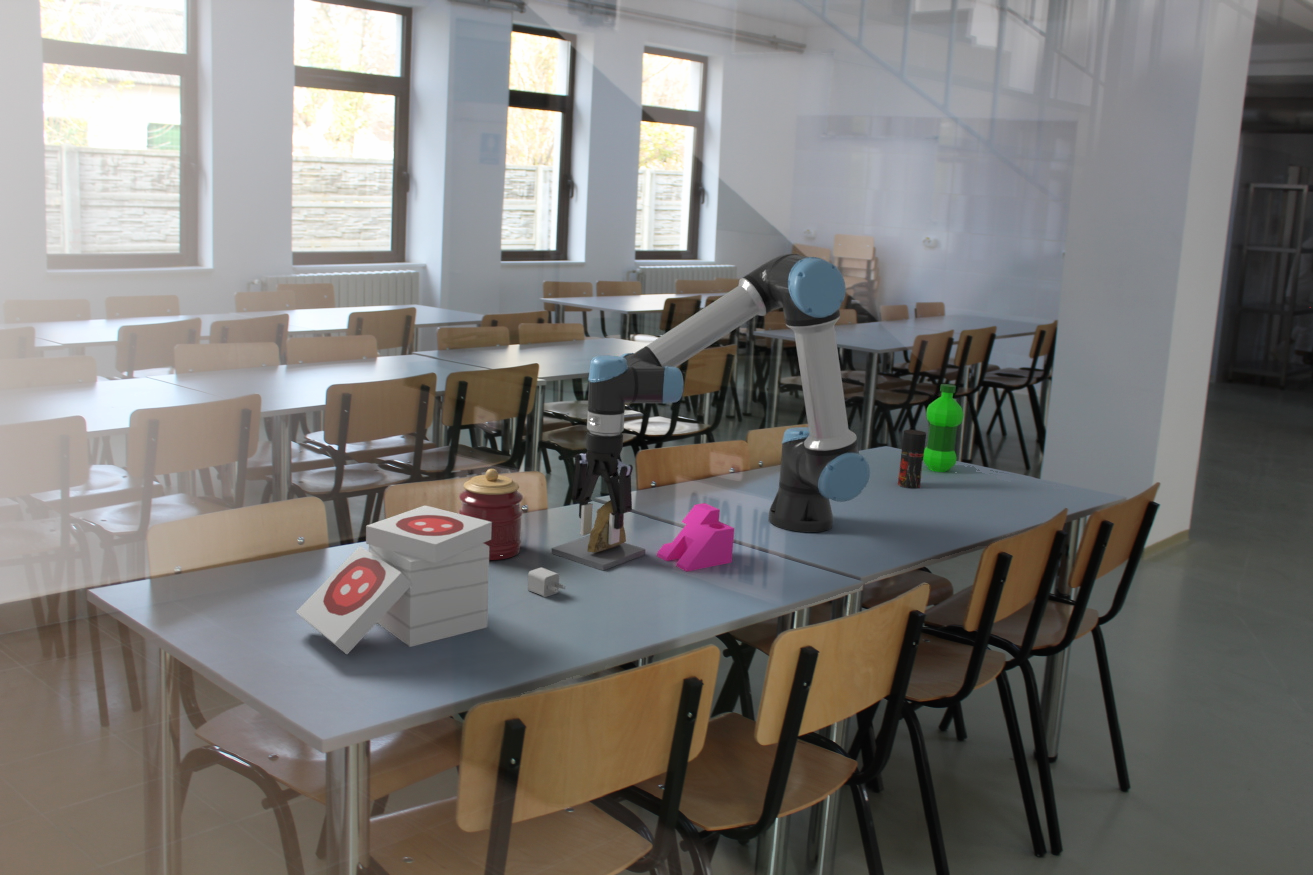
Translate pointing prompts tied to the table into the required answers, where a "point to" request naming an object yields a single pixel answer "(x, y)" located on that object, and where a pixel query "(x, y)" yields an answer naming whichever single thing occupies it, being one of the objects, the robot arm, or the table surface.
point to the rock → (603, 530)
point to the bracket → (700, 540)
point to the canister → (495, 511)
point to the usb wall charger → (543, 582)
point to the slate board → (597, 553)
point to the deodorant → (911, 459)
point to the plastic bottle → (942, 430)
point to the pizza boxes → (408, 581)
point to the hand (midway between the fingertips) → (599, 538)
